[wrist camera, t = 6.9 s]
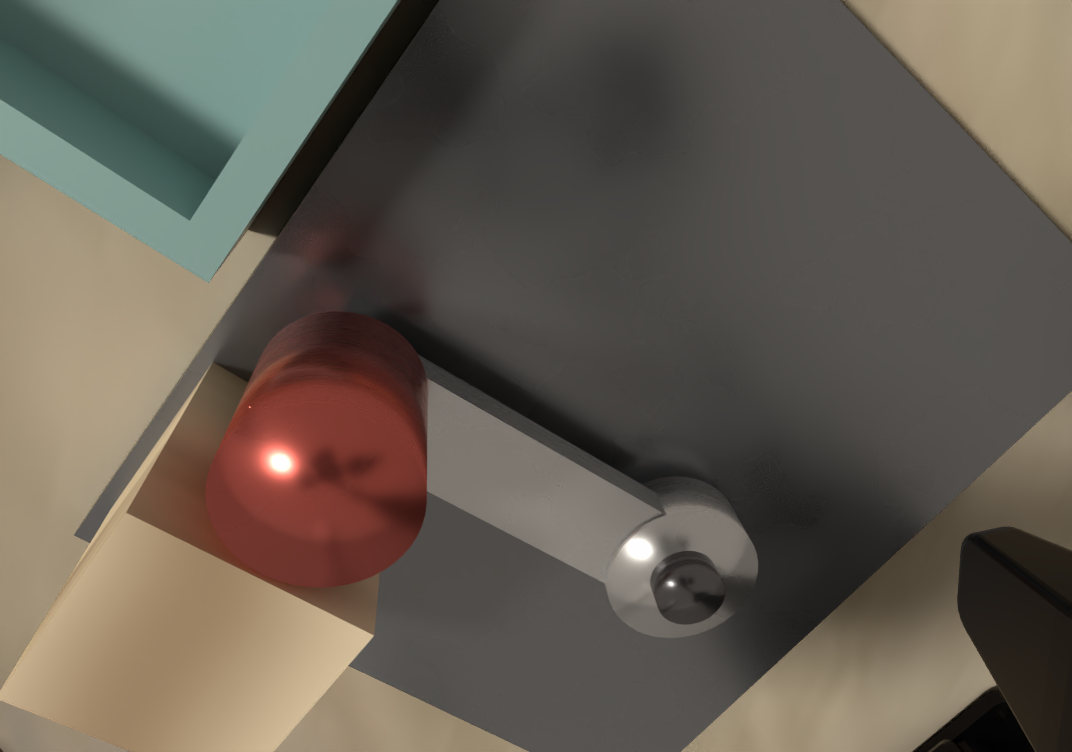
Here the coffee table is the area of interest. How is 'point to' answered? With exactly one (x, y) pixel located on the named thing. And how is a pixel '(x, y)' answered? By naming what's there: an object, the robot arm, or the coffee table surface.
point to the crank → (450, 481)
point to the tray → (174, 105)
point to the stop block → (185, 616)
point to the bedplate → (667, 325)
